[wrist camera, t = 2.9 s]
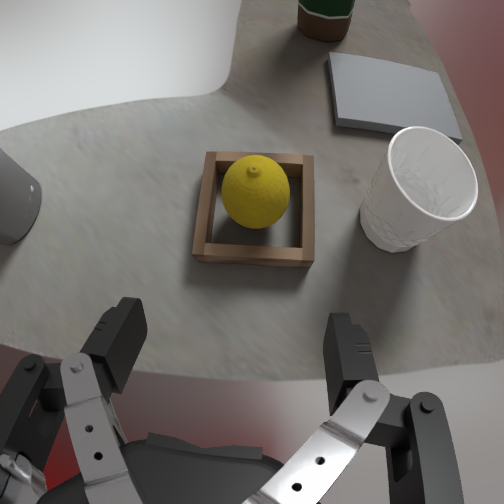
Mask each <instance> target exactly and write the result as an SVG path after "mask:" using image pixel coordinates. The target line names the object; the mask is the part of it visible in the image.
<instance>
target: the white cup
mask: <svg viewBox="0 0 504 504" xmlns="http://www.w3.org/2000/svg"><path fill="white" fill-rule="evenodd" d="M477 197H478V183H477V178H476V175H475V172H474V169H473V167H472V165H471V163H470V161H469V159H468V158H467V156H466V155H465V153H464V152H463V151H462V150H461V148H460V147H459V146H458V145H457V144H456V143H454V142H453V141H452V140H451V139H450V138H448V137H447V136H445V135H444V134H442V133H440V132H438V131H436V130H433V129H430V128H426V127H420V126H414V127H408V128H405V129H402V130H401V131H399V132H398V133H397V134H395V136H394V137H393V138H392V140H391V142H390V144H389V146H388V148H387V150H386V152H385V154H384V157H383V159H382V161H381V163H380V165H379V167H378V169H377V171H376V173H375V175H374V177H373V179H372V181H371V184H370V186H369V188H368V192H367V195H366V198H365V199H364V201H363V203H362V205H361V207H360V223H361V225H362V228H363V230H364V232H365V234H366V237H367V238H368V239H369V240H370V241H372V242H373V243H374V244H375V245H376V246H377V247H378V248H380V249H383V250H386V251H388V252H391V253H395V252H404V251H407V250H409V249H410V248H412V247H414V246H415V245H418V244H420V243H423V242H425V241H426V240H428V239H430V238H432V237H434V236H436V235H437V234H439V233H440V232H442V231H444V230H445V229H447V228H448V227H450V226H452V225H453V224H455V223H456V222H458V221H460V220H461V219H463V218H464V217H466V216H467V215H468V214H470V212H471V211H472V210H473V208H474V206H475V204H476V201H477Z"/></svg>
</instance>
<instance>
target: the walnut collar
mask: <svg viewBox="0 0 504 504" xmlns="http://www.w3.org/2000/svg"><path fill="white" fill-rule="evenodd" d="M250 155H262V156H265V157H268V158H270V159H272V160H274V161H275V162H276V163H277V164H278V165H279V166H280V167H281V168H282V169H283V171H284V173H285V174H286V176H287V177H300V246H299V248H290V247H272V246H253V245H233V244H214V243H211V237H212V228H213V219H214V211H215V202H216V194H217V186H218V178H219V174H226V172H227V171H228V169H229V168H230V166H231V165H232V164H233V163H234V162H236V161H237V160H239V159H241V158H243V157H246V156H250ZM314 242H315V206H314V156H309V155H294V154H277V153H253V152H206V157H205V164H204V170H203V176H202V183H201V190H200V197H199V204H198V211H197V218H196V226H195V233H194V241H193V249H192V255H193V256H194V257H195V259H196V260H197V261H198V262H213V263H230V264H248V265H266V266H285V267H304V268H310V267H311V265H312V264H313V262H314Z"/></svg>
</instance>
